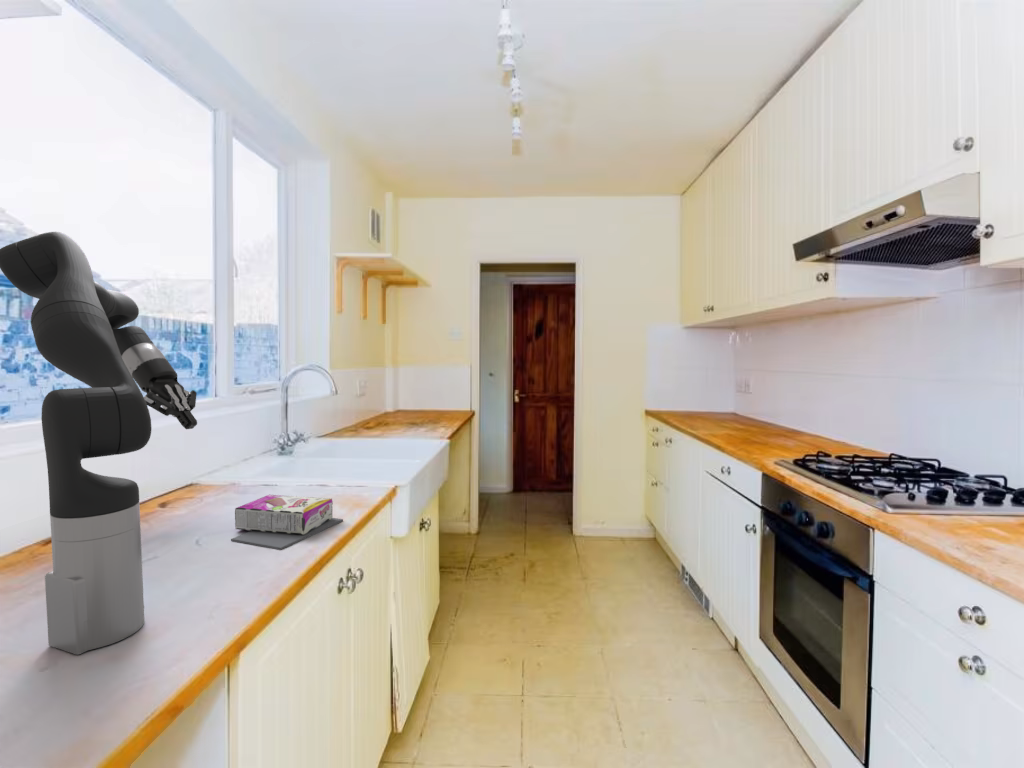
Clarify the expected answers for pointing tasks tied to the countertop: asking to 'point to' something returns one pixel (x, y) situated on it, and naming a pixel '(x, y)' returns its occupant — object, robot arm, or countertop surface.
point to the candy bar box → (283, 514)
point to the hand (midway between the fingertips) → (192, 426)
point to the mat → (280, 536)
